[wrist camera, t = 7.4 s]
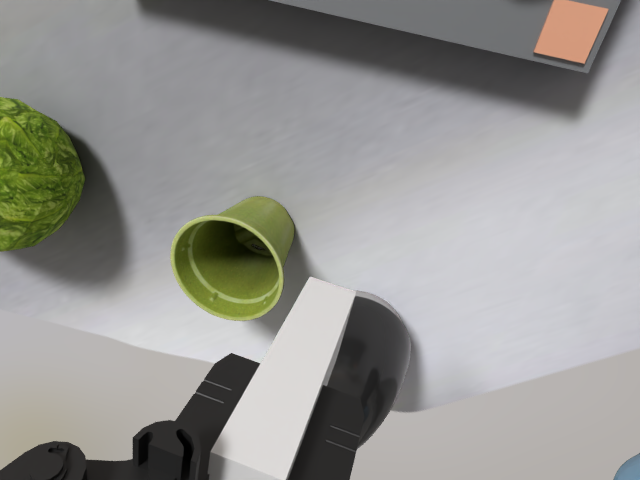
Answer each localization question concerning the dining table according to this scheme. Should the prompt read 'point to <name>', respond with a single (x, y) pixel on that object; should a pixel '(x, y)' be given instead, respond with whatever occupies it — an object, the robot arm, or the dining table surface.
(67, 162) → the lettuce
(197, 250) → the plant pot
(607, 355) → the dining table surface
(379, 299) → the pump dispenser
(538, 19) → the button console
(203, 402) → the robot arm
